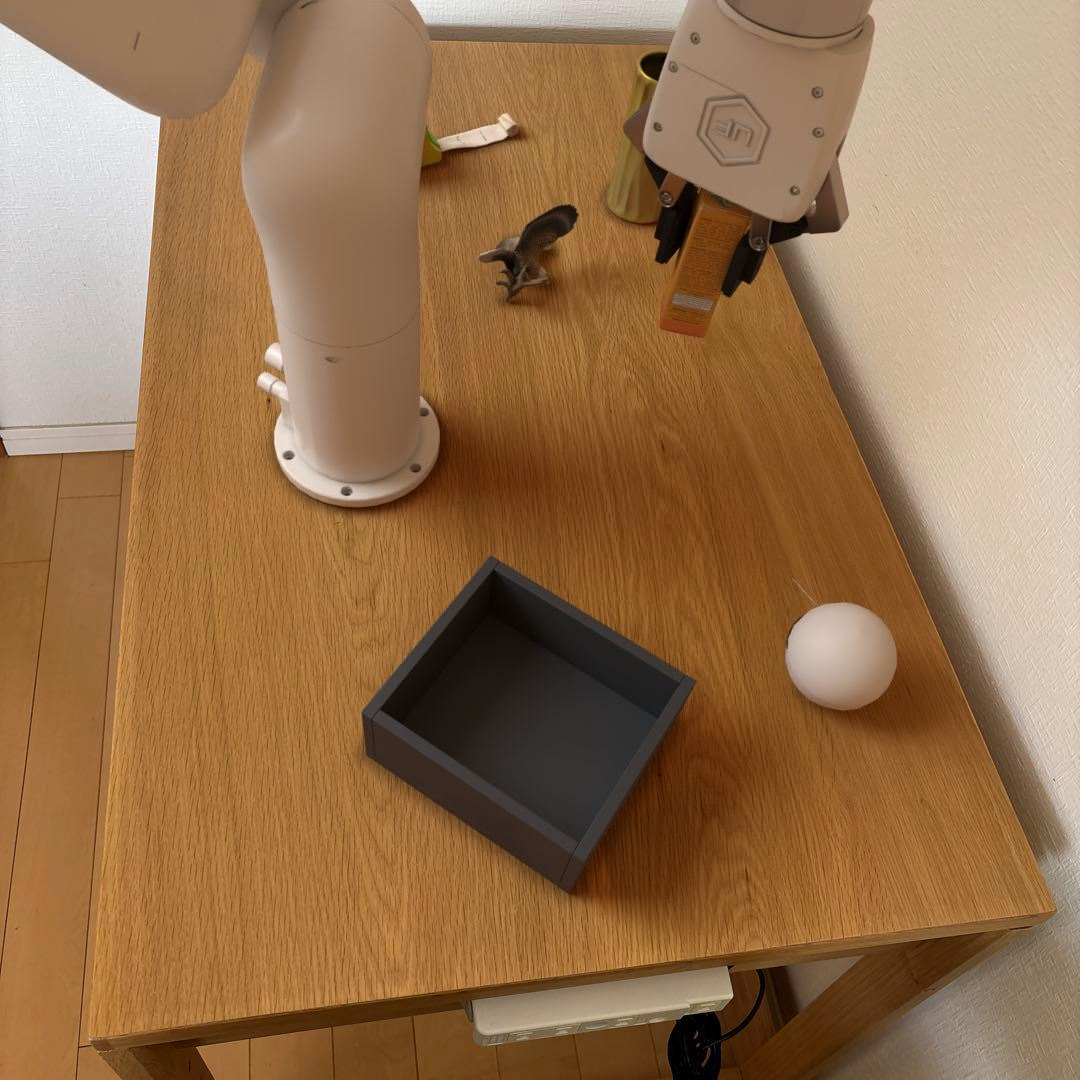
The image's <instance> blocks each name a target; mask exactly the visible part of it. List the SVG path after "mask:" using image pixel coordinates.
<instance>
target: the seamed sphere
mask: <svg viewBox="0 0 1080 1080" xmlns="http://www.w3.org/2000/svg"><path fill="white" fill-rule="evenodd" d="M791 580H793V581H794V582H795V584H796V585H797V586H798V587H799V588H800V590H802V591H803V593H804V594H806V596H807V597H808V598H809V599H810V600H811V601H812V603H813V604H814V605H815V606H816V605H817V603H816V602H815V601H814V600H813V599H812V597H811V596H809V594H808V593H807V592H806V591H805V590H804V589H803V588H802V587H801V585H800V584H799V583H798V582H797V580H795V579H794V578H792V577H791ZM785 644H786V645H785V652H784V653H785V654H784V660H785V661H784V662H785V666H786V668H787V671H788V675H789V677H790V680H791V681H792V683H793V684H794V685H795V687H796V689H797V690H798V691H799V692H800V693H801V694H802V695H803V696H804V697H805V698H806V699H807V700H808V701H810V702H812V703H814V704H817V705H818V706H820V707H823V708H826V709H832V710H837V711H851V710H852V711H853V710H858V709H860V708H862V707H865V706H867V705H868V704H871V703H872V702H875V701H876V700H877V699H880V697H881V696H882V695H883V694H884V693H885V692H886V691H887V690H888V688H889V687H890V685H891V683H892V681H893V679H894V675H895V673H896V669H897V667H898V655H897V646H896V642H895V640H894V637H893V635H892V631H891V630H890V629H889V627H888V626H887V625H886V623H885V622H884V621H883V619H882V618H880V617H879V616H878V615H876V613H874V612H873V611H872V610H870V609H867V608H865V607H864V606H861V605H859V604H856V603H851V602H846V601H845V602H832V603H823V604H821V605H818V606H816V607H814V608H811V609H810V610H808V611H807V612H806V613H805V614H803V615H802V616H800V617H798V619H797V620H796V621H795V622H794V623H793V624H792V626H791V628H790V629H789V631H788V635H787V638H786V643H785Z"/></svg>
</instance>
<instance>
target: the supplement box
mask: <svg viewBox="0 0 1080 1080" xmlns="http://www.w3.org/2000/svg"><path fill="white" fill-rule="evenodd" d="M698 193H699V194H698V197H697V200H696V203H695V205H694V208H693V211H692V214H691V217H690V219H689V222H688V225H687V228H686V231H685V234H684V236H683V239H682V242H681V245H680V248H679V249H678V250H677V253H676V257H675V260H674V262H673V265H672V269H671V271H670V274H669V278H668V280H667V283H666V286H665V289H664V292H663V295H662V300H661V308H660V315H659V316H660V317H659V324H658V327H659V329H660V330H661V331H666V332H670V333H673V334H679V335H683V336H684V335H685V336H688V337H694V338H699V339H704V338H705V337H706V334H707V331H708V328H709V326H710V323H711V322H712V318H713V316H714V313H715V310H716V308H717V305H718V303H719V300H720V298H721V296H722V293H723V292H722V291H721V288H722V285H723V282H724V279H725V276H726V274H727V271H728V268H729V265H730V262H731V260H732V257H733V254H734V251H735V249H736V246H737V244H738V243H739V241H740V240H741V239H742V238H743V236H744V235H745V234H746V232H747V230H748V227H749V225H750V223H751V217H752V211H750V210H748V209H745V208H743V207H741V206H739V205H737V204H735V203H733V202H730V201H728V200H726V199H724V198H722V197H720V196H718V195H716V194H714V193H711V192H709V191H707V190H705V189H703V188H701V187H700V189H699V190H698Z"/></svg>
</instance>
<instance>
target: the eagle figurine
mask: <svg viewBox="0 0 1080 1080" xmlns="http://www.w3.org/2000/svg"><path fill="white" fill-rule="evenodd" d="M577 211H578V209H577V208H576V207H575V205H572V203H569V204H567V203H565V204H560V205H556V206H553V207H552V208H549V209H548V210H547V211H545V212H543V213H542V214H540V215H537V216H536V217H535V218H533V219H532V220H531V221H529V222H528V223H527V224H526V225H525V226H524V227H523V229H522V232H521V233H520V235H519V236H516V237H509V238H506V239H503V240H501V241H500V242H499V243H498V244H497V245H496V247H495V248H494V249H491V250H489V251H485V252H483V253H480V254H479V255H478V257H477V260H478V261H479V262H481V263H483V264H489V263H493V262H502V263H504V265H505V268H502V269H499V270H498V271H499V273H500V274H504V275H506V281H504V280H496V281H494V284H495V285H496V286H503V287H504V288H506V294H505V297H504V302H505V303H509V301H510V300H511V299H513V297H516V296H517V295H518V294H519V293H520V291H521V290H524V289H525V288H527V287H535V286H543V285H547V286H548V285H549V283H550V282H549V280H550V279H549V277H548V276H549V274H548V272H547V271H546V270H545V269H544V267H542V266H541V264H540V261H539V258H540V255H541V254H542V252H544V251H550V250H552V247H551V245H553V244H555V243H556V242H557V240H558V239H560V238H563V237H565V236H566V235H568V234H569V233H570V232H572V231H573V230H574V227H575V224H576V223H577V220H578V218H579V216H580V214H579V212H577ZM529 276H530V277H534V278H536V279H531V278H530V277H529Z"/></svg>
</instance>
